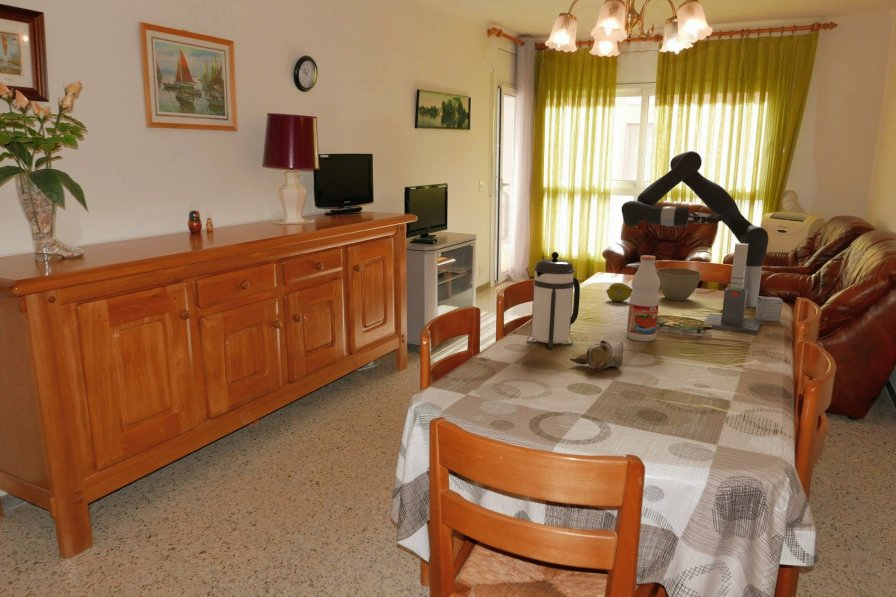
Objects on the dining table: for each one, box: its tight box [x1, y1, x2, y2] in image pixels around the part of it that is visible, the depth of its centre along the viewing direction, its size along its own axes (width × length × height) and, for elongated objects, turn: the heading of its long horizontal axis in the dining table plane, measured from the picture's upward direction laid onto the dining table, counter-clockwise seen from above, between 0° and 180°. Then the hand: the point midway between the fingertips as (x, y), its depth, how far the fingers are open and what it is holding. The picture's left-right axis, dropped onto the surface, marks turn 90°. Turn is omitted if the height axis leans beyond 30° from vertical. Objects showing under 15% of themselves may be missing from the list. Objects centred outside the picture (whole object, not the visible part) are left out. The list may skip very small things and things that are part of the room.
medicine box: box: [754, 296, 784, 322], centre depth 248 cm, size 8×4×9 cm, turn 84°
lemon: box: [605, 282, 632, 303], centre depth 274 cm, size 11×8×8 cm
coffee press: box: [526, 251, 581, 350], centre depth 209 cm, size 17×16×30 cm
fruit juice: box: [626, 254, 660, 342], centre depth 217 cm, size 9×9×28 cm
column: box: [729, 242, 748, 292], centre depth 236 cm, size 4×4×22 cm
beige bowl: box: [656, 267, 702, 302], centre depth 282 cm, size 18×18×12 cm
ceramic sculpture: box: [569, 339, 625, 373], centre depth 187 cm, size 11×9×15 cm
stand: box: [703, 286, 762, 335], centre depth 238 cm, size 18×18×14 cm
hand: (720, 219), depth 241 cm, fingers open, 8 cm apart
